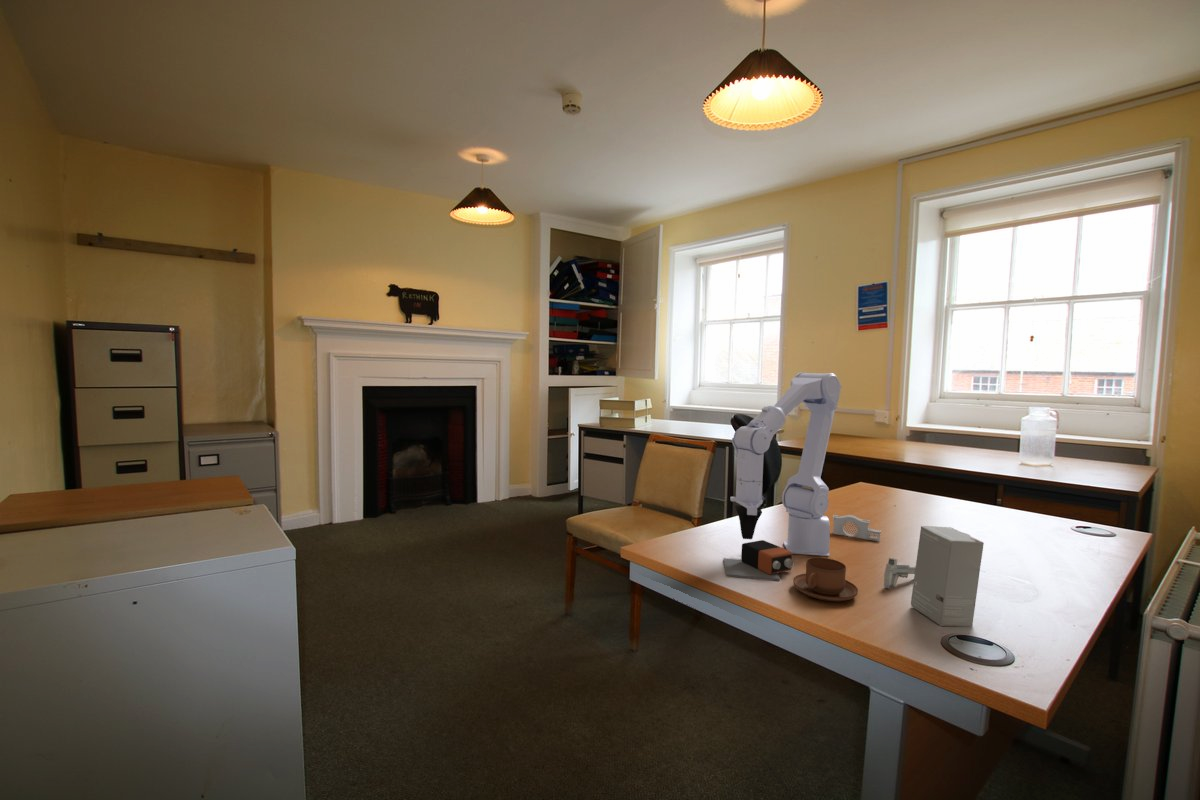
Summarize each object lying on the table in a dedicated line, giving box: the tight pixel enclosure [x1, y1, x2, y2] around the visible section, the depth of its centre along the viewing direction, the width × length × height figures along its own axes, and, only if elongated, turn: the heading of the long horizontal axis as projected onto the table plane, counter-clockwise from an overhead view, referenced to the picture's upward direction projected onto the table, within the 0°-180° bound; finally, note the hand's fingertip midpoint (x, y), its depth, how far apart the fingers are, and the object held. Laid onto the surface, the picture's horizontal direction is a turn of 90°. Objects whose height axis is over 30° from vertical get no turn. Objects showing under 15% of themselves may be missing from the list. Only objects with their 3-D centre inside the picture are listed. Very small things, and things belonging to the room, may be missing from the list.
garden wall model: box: [832, 514, 882, 542], centre depth 146 cm, size 12×2×6 cm, turn 56°
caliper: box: [883, 557, 916, 590], centre depth 116 cm, size 21×1×6 cm, turn 121°
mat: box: [723, 557, 781, 582], centre depth 120 cm, size 11×10×1 cm
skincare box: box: [910, 525, 985, 627], centre depth 98 cm, size 8×7×16 cm
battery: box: [740, 539, 794, 575], centre depth 120 cm, size 4×7×10 cm
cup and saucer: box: [792, 557, 859, 602], centre depth 108 cm, size 12×12×6 cm
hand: (747, 538), depth 123 cm, fingers closed
